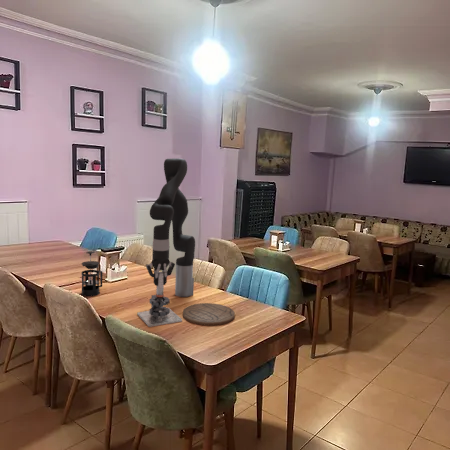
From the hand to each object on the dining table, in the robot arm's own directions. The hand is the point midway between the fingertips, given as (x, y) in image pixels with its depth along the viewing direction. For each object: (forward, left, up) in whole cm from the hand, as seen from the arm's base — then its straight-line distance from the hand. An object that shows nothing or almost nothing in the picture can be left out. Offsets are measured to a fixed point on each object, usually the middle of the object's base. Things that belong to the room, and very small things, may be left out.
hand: (160, 284), depth 188 cm
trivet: (-23, +6, -17) cm, 29 cm away
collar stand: (0, 0, -16) cm, 16 cm away
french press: (+21, -46, -16) cm, 53 cm away
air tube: (0, 0, -10) cm, 10 cm away
